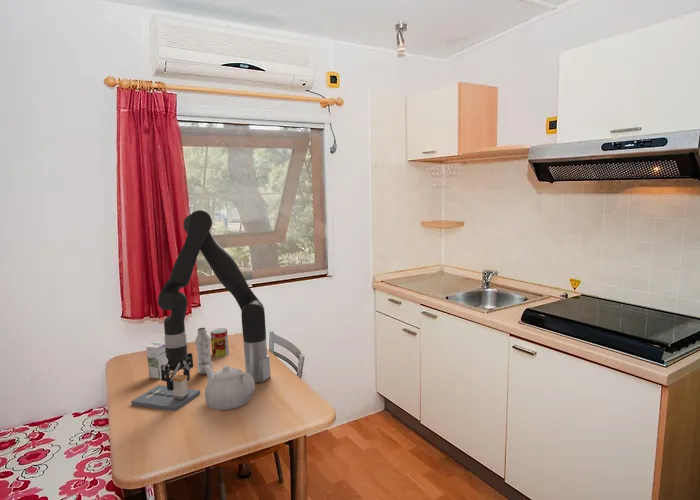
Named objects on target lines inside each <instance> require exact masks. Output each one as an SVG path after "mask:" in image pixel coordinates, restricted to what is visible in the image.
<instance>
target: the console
mask: <svg viewBox="0 0 700 500" xmlns="http://www.w3.org/2000/svg"><path fill="white" fill-rule="evenodd" d="M188 392H189V395H188V396H186V397H185V398H183V399H182V400H180V399H173V396H174V391H173V390H172V391H170V390H168V389H167V385H161V384H158V385H156V386H154V387H152V388H151V389H149V390H148V391H146V392H144V393H142V394H141V395H139V396H138V397H136V398H134V399H132V400H131V401H130V402H131V405H132V406H138V407H143V408H149V409H157V410H164V411H170V412H177V411H179V409H181V408H182V407H184V406H185V405H186V404H188V403H190V402H191V401H192V400H194V399H195V398H196V397H198V396H200V395H201V390H199V389H192V388H188Z"/></svg>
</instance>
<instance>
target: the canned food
mask: <svg viewBox="0 0 700 500" xmlns="http://www.w3.org/2000/svg"><path fill="white" fill-rule="evenodd" d="M209 333H210V340H211V342H210V346H211V353H212V354H211V355H212V356H214V358H223V357H226V356H228V355H229V354H230V349H229V338H228V337H229V336H228V329H227V328H222V327H218V328H215V329H211V330H210V332H209ZM212 356H211V357H212ZM222 356H223V357H222Z"/></svg>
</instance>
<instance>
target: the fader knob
mask: <svg viewBox="0 0 700 500" xmlns="http://www.w3.org/2000/svg"><path fill="white" fill-rule="evenodd" d="M187 378H188V376H187V375H183V374H179V373H177V374H176V375H175V376H174V378H173V385H174V390H173V391H174V396H173V399H180V400H182V399H183V398H185V397H186V396H188V395H189V392H188V389H189V387H188V381H187Z"/></svg>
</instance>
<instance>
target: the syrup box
mask: <svg viewBox="0 0 700 500" xmlns="http://www.w3.org/2000/svg"><path fill="white" fill-rule="evenodd" d="M145 348H146V355H147V365H148V374H149V376H148V377H149V378H150V379H155V380H161V365H166V364H167V363H168V359H167V358H166V352H165V342H157V341H156V342H152V343H150V344H148V345H147V346H146V347H145Z"/></svg>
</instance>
